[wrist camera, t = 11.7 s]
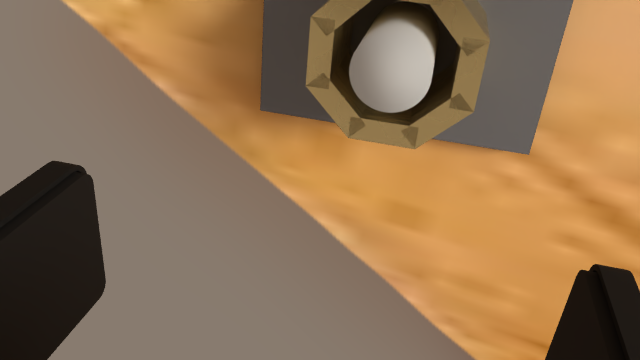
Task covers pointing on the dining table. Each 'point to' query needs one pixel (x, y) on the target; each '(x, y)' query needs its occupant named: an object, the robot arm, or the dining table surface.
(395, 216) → the dining table surface
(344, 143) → the dining table surface
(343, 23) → the brass ring
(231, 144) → the dining table surface
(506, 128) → the piston stand
